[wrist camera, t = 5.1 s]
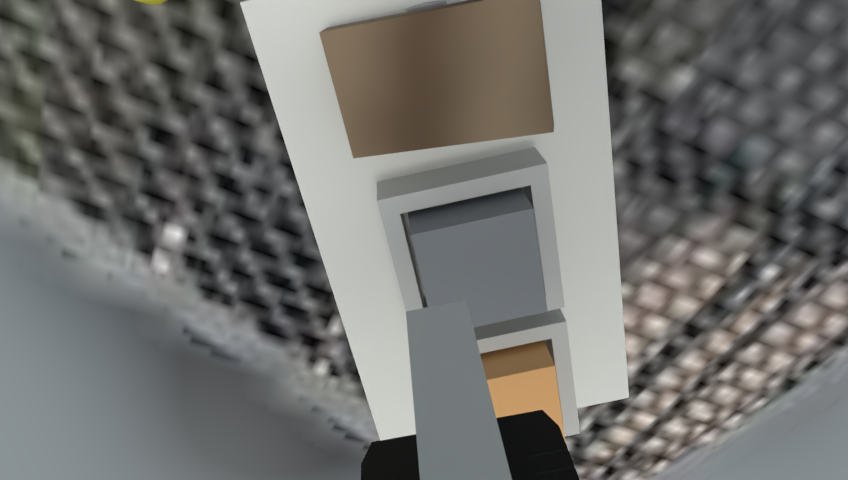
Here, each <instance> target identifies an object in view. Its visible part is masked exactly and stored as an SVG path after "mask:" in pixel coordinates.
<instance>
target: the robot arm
mask: <svg viewBox="0 0 848 480" xmlns="http://www.w3.org/2000/svg"><path fill="white" fill-rule="evenodd" d="M406 320H407V332H408V344H409V356H410V367H411V379H412V391H413V403H414V415H415V427H416V434H414V435H409V436H403V437H398V438H392V439H387V440H381V441H376V442H372V443H371V445H370V447H369V449H368V451H367V453H366V455H365V457H364V459H363V462H362V463H361V480H579V477H578V475H577V472H576V469H575V468H574V464H573V461H572V459H571V456H570V453H569V451H568V449H567V446H566V443H565V440H564V438H563V435H562V432H561V430H560V427H559V425H558V424H557V423H555V422H554V421H553V420H552V419H551V418H550V417H549V416H548V415H547V414H546V413H545V412H544V411H543V410H538V411H532V412H527V413H521V414H516V415H510V416H505V417H499V418H496V415H495V411H494V407H493V403H492V399H491V395H490V391H489V387H488V383H487V379H486V375H485V371H484V368H483V364H482V360H481V356H480V352H479V348H478V344H477V340H476V336H475V332H474V328H473V324H472V320H471V316H470V312H469V308H468V305H467V301H466V300H465V301H460V302H455V303H449V304H444V305H438V306H433V307H427V308H422V309H417V310H411V311H406Z"/></svg>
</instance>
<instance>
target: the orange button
mask: <svg viewBox="0 0 848 480" xmlns="http://www.w3.org/2000/svg"><path fill="white" fill-rule="evenodd" d="M480 356H481V360H482V364H483V368H484V371H485V375H486V379H487V383H488V387H489V391H490V395H491V399H492V403H493V407H494V411H495V415H496V418H499V417H505V416H510V415H516V414H521V413H527V412H532V411H538V410H543V411H544V412H545V413H546V414H547V415H548V416H549V417H550V418H551V419H552V420H553V421H554V422H555V423H557V424H558V425H559V427H560V430H561V432H562V435H563V438H564V440H565V436H564V428H563V421H562V414H561V406H560V399H559V391H558V384H557V377H556V369H555V365H554V362H553V360H552V357H551V355H550V353H549V350H548V348H547V346H546V343H545V341H544V340H542V341H537V342H533V343H528V344H523V345H518V346H514V347H509V348H504V349H500V350H495V351H490V352H486V353H481V354H480Z"/></svg>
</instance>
